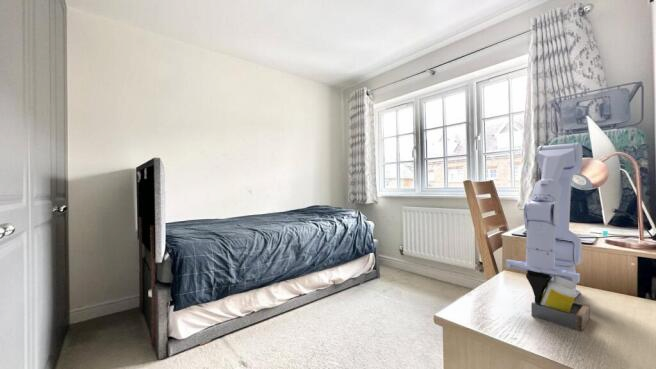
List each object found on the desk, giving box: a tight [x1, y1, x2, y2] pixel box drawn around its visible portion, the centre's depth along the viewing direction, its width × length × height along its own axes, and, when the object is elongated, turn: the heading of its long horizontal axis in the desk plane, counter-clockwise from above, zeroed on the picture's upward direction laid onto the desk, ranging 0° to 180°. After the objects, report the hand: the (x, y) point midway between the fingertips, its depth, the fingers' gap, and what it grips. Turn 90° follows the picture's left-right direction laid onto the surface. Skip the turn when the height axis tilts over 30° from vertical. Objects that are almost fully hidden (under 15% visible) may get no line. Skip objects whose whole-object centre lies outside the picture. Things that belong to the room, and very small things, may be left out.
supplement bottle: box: [540, 275, 578, 312], centre depth 64 cm, size 5×5×10 cm
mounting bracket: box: [530, 295, 591, 332], centre depth 65 cm, size 9×9×3 cm
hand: (539, 303), depth 67 cm, fingers closed, pressing on supplement bottle
